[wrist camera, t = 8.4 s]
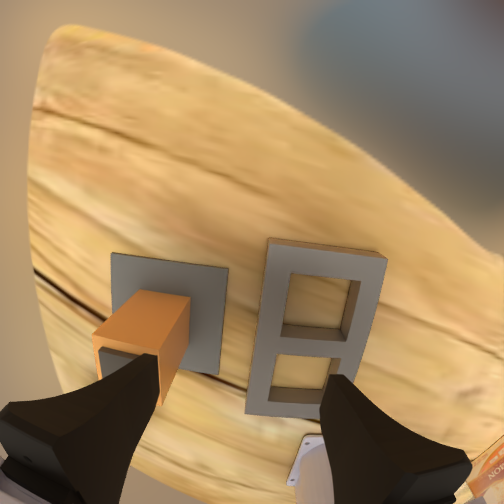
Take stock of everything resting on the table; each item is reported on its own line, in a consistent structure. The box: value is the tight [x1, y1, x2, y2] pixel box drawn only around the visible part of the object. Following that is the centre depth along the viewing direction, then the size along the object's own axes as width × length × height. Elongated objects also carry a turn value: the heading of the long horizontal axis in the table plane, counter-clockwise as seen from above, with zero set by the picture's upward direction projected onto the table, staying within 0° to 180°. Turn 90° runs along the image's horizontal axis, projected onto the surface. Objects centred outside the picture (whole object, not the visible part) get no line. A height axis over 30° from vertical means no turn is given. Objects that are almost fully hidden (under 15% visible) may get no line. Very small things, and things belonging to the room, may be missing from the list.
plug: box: [92, 289, 191, 406], centre depth 18 cm, size 4×4×8 cm
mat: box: [111, 252, 228, 375], centre depth 22 cm, size 9×9×1 cm
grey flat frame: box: [245, 238, 388, 419], centre depth 21 cm, size 14×8×2 cm, turn 173°
